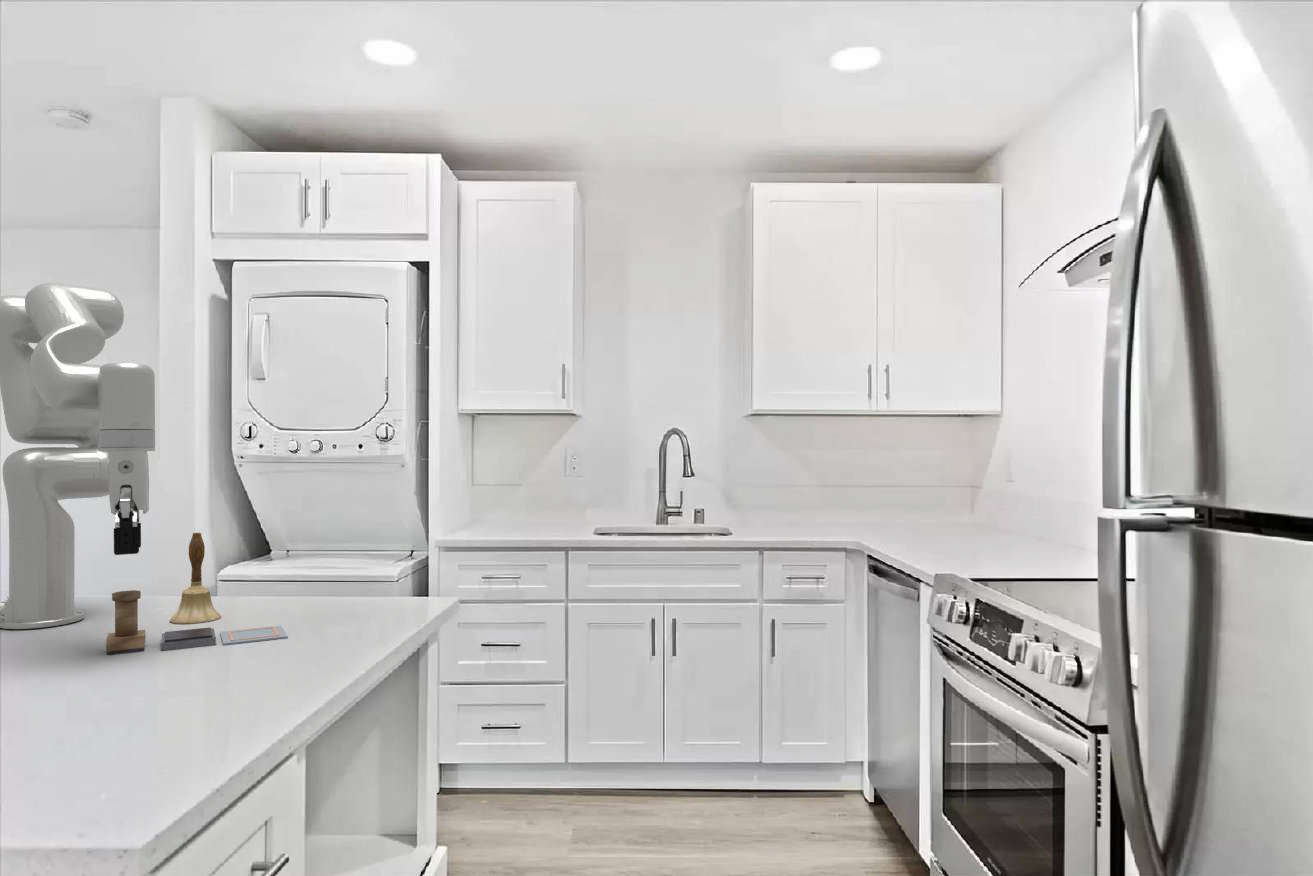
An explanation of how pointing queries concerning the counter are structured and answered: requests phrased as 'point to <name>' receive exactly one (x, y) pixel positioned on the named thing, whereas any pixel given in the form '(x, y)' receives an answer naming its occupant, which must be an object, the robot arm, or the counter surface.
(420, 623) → the counter surface
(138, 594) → the stamp
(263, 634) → the card
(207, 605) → the hand bell
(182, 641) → the ink pad
